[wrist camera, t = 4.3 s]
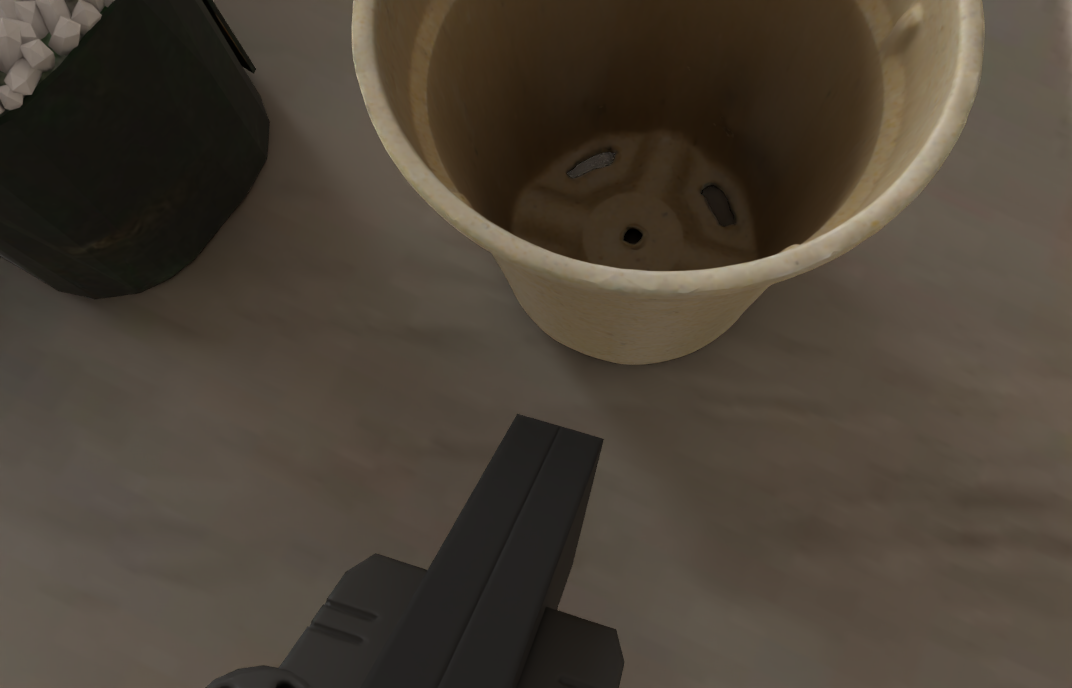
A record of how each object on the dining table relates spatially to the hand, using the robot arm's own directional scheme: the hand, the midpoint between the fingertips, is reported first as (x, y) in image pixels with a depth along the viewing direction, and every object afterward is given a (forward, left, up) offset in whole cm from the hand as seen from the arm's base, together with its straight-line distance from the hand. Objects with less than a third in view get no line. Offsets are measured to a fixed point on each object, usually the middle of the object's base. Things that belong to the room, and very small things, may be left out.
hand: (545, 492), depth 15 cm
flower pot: (0, +7, -5) cm, 8 cm away
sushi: (-14, +6, -5) cm, 16 cm away
